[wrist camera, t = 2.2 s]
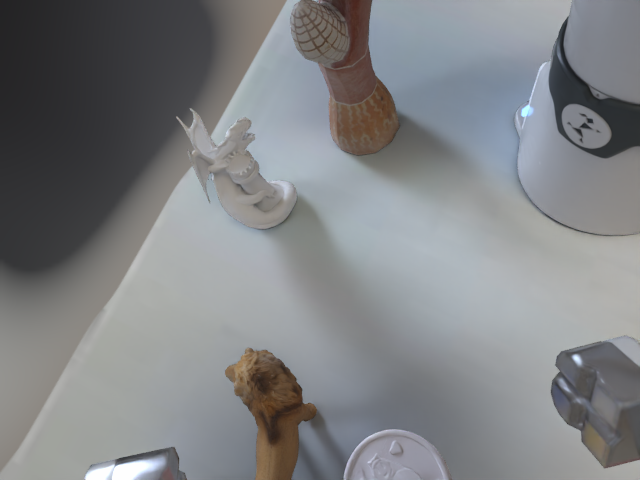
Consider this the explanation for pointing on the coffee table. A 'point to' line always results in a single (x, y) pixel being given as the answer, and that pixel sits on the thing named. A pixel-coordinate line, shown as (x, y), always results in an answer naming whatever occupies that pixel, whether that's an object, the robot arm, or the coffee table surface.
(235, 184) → the figurine
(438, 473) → the smoothie
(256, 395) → the lion figurine
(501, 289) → the coffee table surface
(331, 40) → the vase
